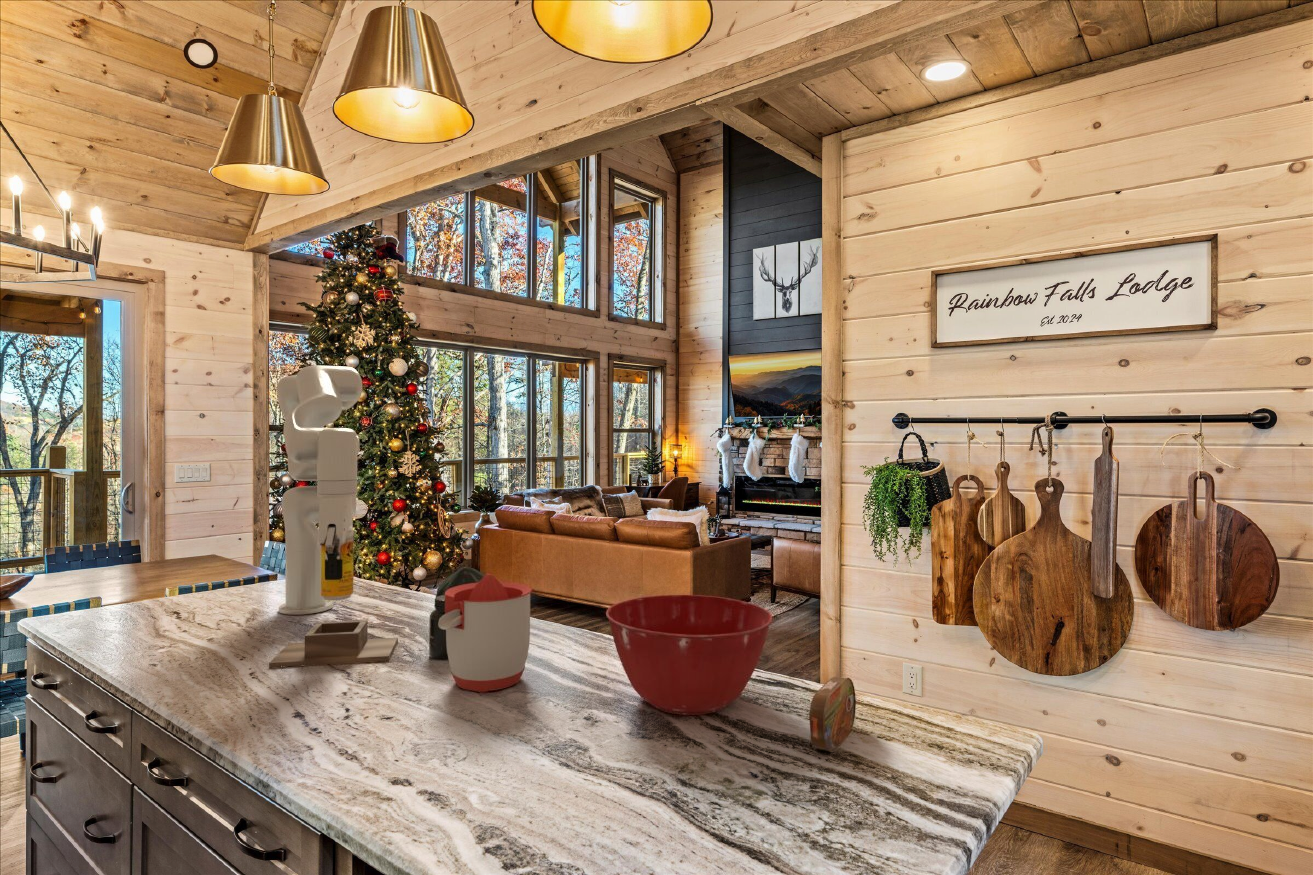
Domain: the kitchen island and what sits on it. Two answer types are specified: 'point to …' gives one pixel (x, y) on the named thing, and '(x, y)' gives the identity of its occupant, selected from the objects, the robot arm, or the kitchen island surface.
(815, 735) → the tin
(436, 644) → the supplement bottle
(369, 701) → the kitchen island surface
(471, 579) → the squash
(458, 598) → the citrus juicer
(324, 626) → the can caddy
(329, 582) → the beer can
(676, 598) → the mixing bowl
